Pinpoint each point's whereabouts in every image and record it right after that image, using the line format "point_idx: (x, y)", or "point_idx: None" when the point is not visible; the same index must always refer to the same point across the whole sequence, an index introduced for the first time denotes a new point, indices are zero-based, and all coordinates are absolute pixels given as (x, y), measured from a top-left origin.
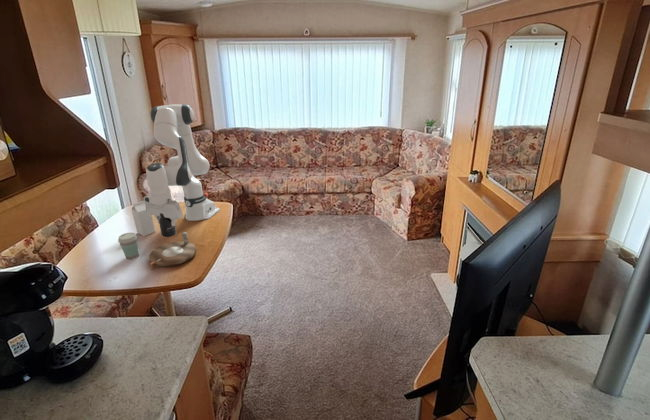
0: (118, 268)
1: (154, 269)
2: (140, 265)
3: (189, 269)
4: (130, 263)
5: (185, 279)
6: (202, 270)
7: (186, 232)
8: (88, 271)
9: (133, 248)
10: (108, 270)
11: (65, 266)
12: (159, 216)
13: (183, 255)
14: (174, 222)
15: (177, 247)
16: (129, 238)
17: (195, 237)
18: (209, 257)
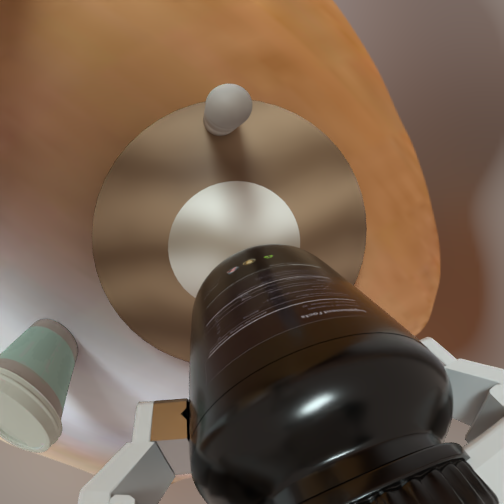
0: (112, 412)
1: None
2: (159, 369)
3: (390, 272)
4: (106, 378)
5: (413, 320)
6: (434, 247)
7: (235, 86)
8: (65, 445)
9: (65, 383)
10: (101, 429)
11: (2, 440)
12: (123, 489)
13: (333, 243)
14: (452, 364)
15: (216, 195)
16: (49, 437)
17: (149, 12)
18: (401, 149)
